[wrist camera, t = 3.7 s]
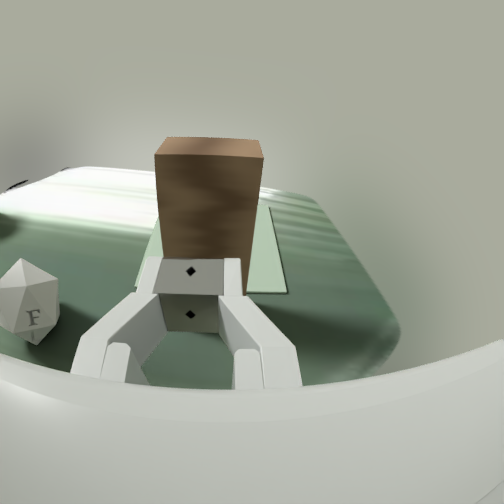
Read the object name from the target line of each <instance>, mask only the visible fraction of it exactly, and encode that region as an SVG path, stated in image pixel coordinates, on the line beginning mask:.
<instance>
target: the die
mask: <svg viewBox="0 0 504 504" xmlns="http://www.w3.org/2000/svg"><path fill="white" fill-rule="evenodd" d="M59 315H60V309H59V294H58V279H57V278H55V277H54V276H52V275H50V274H48V273H46V272H44V271H43V270H41V269H39V268H37V267H36V266H34V265H32V264H30V263H29V262H27V261H25V260H24V259H22V258H20V259H19V260H18V261H17V262H16V263H15V264H14V265H13V266H12V267H11V268H10V269H9V271H8V272H7V273H6V274H5V275H4V276H3V277H2V278H1V279H0V326H2V327H3V328H5V329H6V330H8V331H10V332H11V333H13V334H15V335H17V336H19V337H21V338H23V339H25V340H27V341H29V342H31V343H33V344H35V345H38V344H39V342H40V341H41V340H42V339H43V338H44V337H45V336H46V335H47V334H48V333H49V331H50V330H51V329H52V328H53V327H54V326H55V325H56V323H57V320H58V318H59Z"/></svg>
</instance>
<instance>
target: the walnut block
mask: <svg viewBox="0 0 504 504" xmlns="http://www.w3.org/2000/svg"><path fill="white" fill-rule="evenodd" d="M263 160H264V157H263V154H262V151H261V147H260V144H259V141H258V140H247V139H231V138H208V137H167V138H166V139H165V141H164V142H163V143H162V145H161V146H160V147H159V149H158V150H157V152H156V153H155V175H156V189H157V202H158V213H159V223H160V232H161V241H162V249H163V257H183V258H240V260H241V273H242V289H243V296H246V291H247V283H248V276H249V268H250V260H251V252H252V245H253V237H254V229H255V222H256V214H257V206H258V199H259V191H260V183H261V176H262V168H263Z"/></svg>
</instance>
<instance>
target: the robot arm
mask: <svg viewBox="0 0 504 504" xmlns="http://www.w3.org/2000/svg"><path fill="white" fill-rule="evenodd" d="M167 331H174V332H204V333H219V335H220V337H221V338H222V340H223V341H224V343H225V344H226V346H227V347H228V349H229V350H230V352H231V353H232V355H233V356H234V366H233V380H232V390H212V389H186V388H170V387H158V386H150V384H149V382H148V381H147V379H146V377H145V375H144V373H143V371H142V369H141V366H142V364H143V363H144V362H145V360H146V359H147V358H148V357H149V355H150V354H151V353H152V352H153V350H154V349H155V348H156V347H157V345H158V344H159V343H160V342H161V340H162V339H163V338H164V337H165V335H166V334H167ZM0 504H504V339H501V340H497V341H495V342H493V343H490V344H487V345H485V346H482V347H479V348H477V349H474V350H471V351H468V352H465V353H462V354H459V355H456V356H453V357H450V358H447V359H443V360H440V361H436V362H433V363H430V364H426V365H422V366H418V367H414V368H410V369H406V370H402V371H398V372H393V373H388V374H383V375H378V376H373V377H367V378H362V379H356V380H350V381H343V382H336V383H328V384H320V385H311V386H302V380H301V375H300V369H299V364H298V359H297V353H296V348H295V346H294V345H293V344H292V343H291V342H290V341H289V340H288V338H287V337H286V336H285V335H284V334H283V333H282V332H281V331H280V330H279V329H278V328H277V327H276V326H275V325H274V324H273V323H272V322H271V321H270V320H269V318H268V317H267V316H266V315H265V314H264V313H263V312H262V311H261V310H260V309H259V308H258V307H257V306H256V305H255V303H254V302H253V301H252V300H251V299H250V298H249V297H248V296H243V289H242V273H241V260H240V258H183V257H156V256H149V257H148V258H147V259H146V262H145V265H144V268H143V271H142V274H141V277H140V281H139V284H138V287H137V291H136V293H130V294H129V295H128V296H127V297H126V298H125V299H123V300H122V301H121V302H120V303H119V304H118V305H116V306H115V307H114V308H113V309H112V310H111V311H109V312H108V313H107V314H106V315H105V316H104V317H103V318H101V319H100V320H99V321H98V322H97V323H96V324H95V325H93V326H92V327H91V328H90V329H89V330H88V331H87V332H86V333H84V334H83V335H82V336H81V338H80V341H79V345H78V348H77V351H76V354H75V357H74V361H73V364H72V368H71V371H70V373H68V372H64V371H59V370H55V369H51V368H47V367H43V366H40V365H36V364H33V363H29V362H26V361H23V360H19V359H16V358H13V357H10V356H7V355H4V354H1V353H0Z"/></svg>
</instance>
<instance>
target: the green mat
mask: <svg viewBox="0 0 504 504" xmlns="http://www.w3.org/2000/svg"><path fill="white" fill-rule="evenodd" d="M149 256H156V257H163V249H162V241H161V232H160V223H159V216H158V219H157V221H156V224H155V227H154V229H153V232H152V235H151V238H150V241H149V243H148V246H147V249H146V252H145V255H144V258H143V261H142V264H141V267H140V270H139V273H138V277H137V280H136V283H135V286H134V287H135V288H137V287H138V284H139V281H140V277H141V274H142V271H143V268H144V265H145V262H146V259H147V258H148V257H149ZM246 293H281V294H286V293H287V290H286V286H285V281H284V276H283V271H282V266H281V262H280V257H279V252H278V248H277V243H276V238H275V234H274V229H273V225H272V220H271V216H270V211H269V207H268V205H258V206H257V214H256V222H255V229H254V237H253V245H252V252H251V260H250V268H249V276H248V283H247V291H246Z"/></svg>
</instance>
